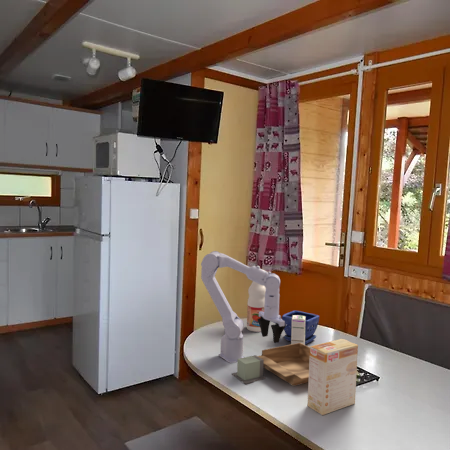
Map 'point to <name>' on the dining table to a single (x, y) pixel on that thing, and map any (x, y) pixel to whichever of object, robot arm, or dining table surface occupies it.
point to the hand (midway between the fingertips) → (270, 339)
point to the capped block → (250, 367)
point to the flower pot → (309, 321)
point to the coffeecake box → (332, 376)
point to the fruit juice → (255, 305)
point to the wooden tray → (288, 362)
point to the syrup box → (298, 329)
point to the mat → (249, 379)
